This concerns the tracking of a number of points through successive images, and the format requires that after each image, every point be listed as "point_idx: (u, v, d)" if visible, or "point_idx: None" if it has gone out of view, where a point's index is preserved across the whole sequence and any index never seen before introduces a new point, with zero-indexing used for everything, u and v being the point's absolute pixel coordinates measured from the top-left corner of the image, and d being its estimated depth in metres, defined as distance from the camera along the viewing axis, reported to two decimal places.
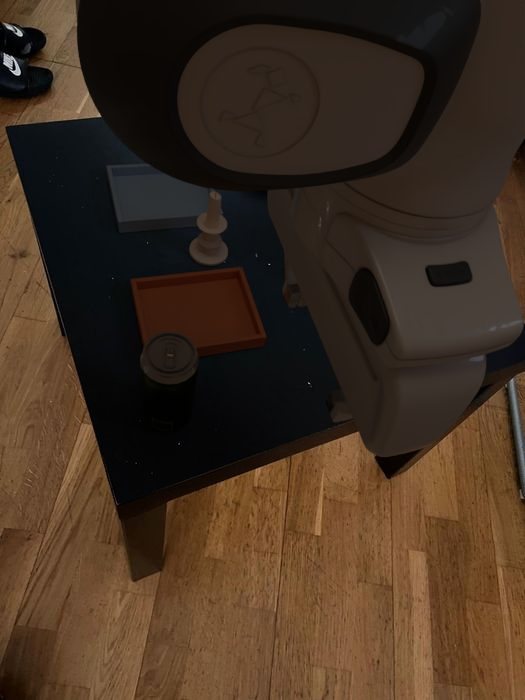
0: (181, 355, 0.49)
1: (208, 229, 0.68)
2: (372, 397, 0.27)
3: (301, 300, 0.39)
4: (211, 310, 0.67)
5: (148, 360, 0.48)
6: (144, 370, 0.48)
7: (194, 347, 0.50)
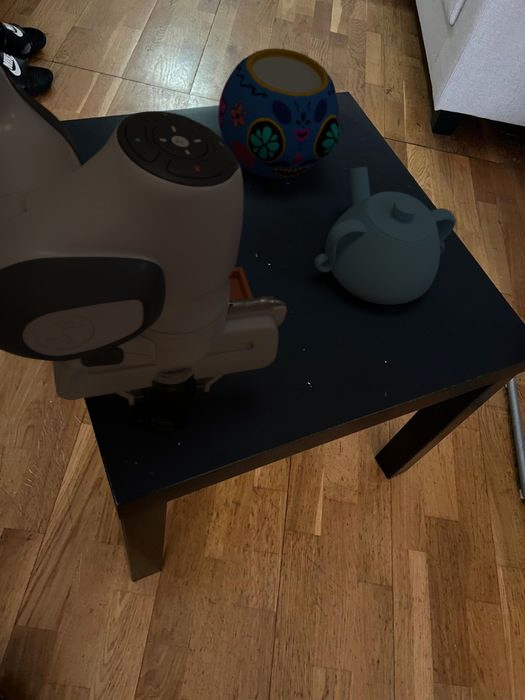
0: None
1: None
2: None
3: None
4: None
5: None
6: None
7: None
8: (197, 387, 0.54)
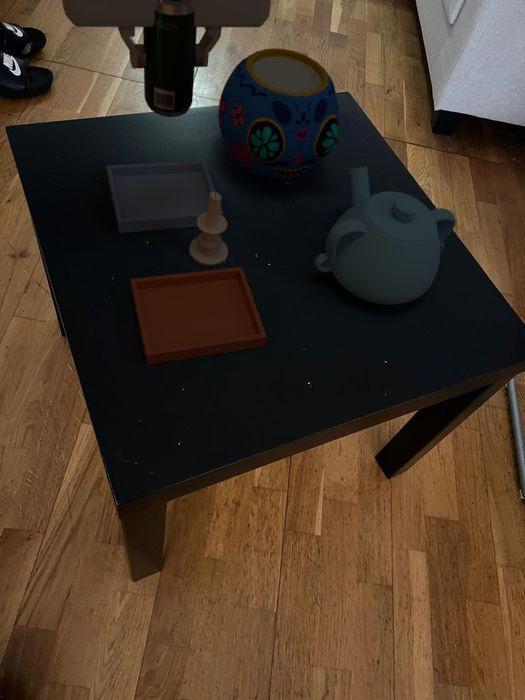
0: None
1: (208, 229, 0.68)
2: None
3: None
4: (211, 310, 0.67)
5: None
6: None
7: None
8: (196, 54, 0.57)
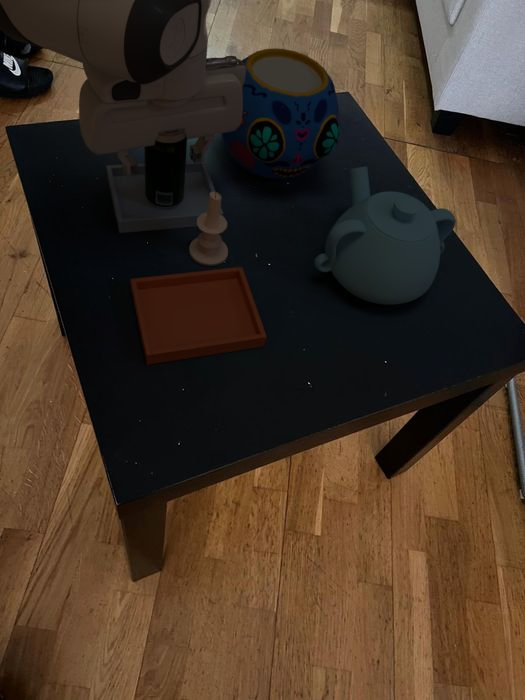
0: None
1: (208, 229, 0.68)
2: None
3: (192, 156, 0.73)
4: (211, 310, 0.67)
5: None
6: None
7: None
8: (196, 154, 0.72)
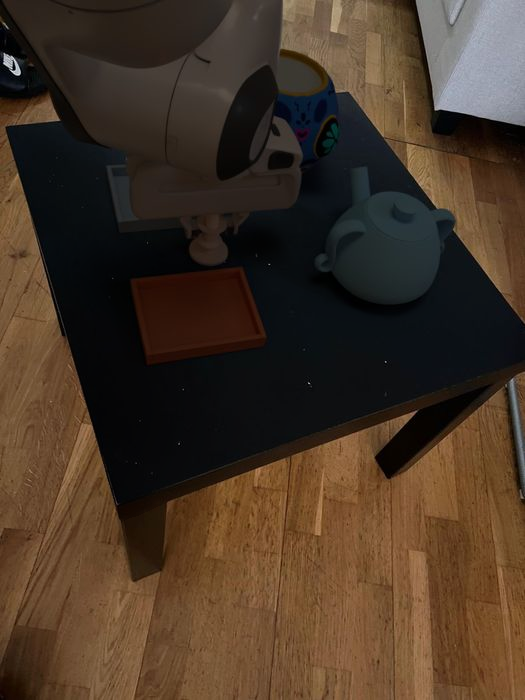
0: None
1: (208, 229, 0.68)
2: (282, 189, 0.64)
3: None
4: (211, 310, 0.67)
5: None
6: None
7: None
8: None
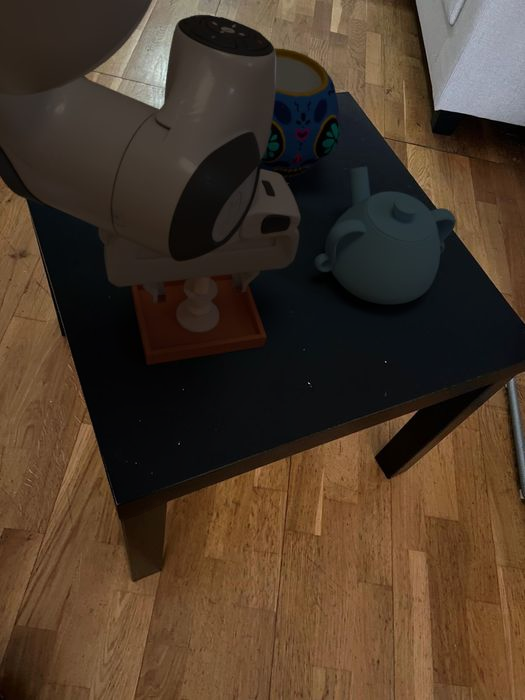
0: None
1: (196, 296, 0.61)
2: (277, 250, 0.57)
3: None
4: None
5: None
6: None
7: None
8: None
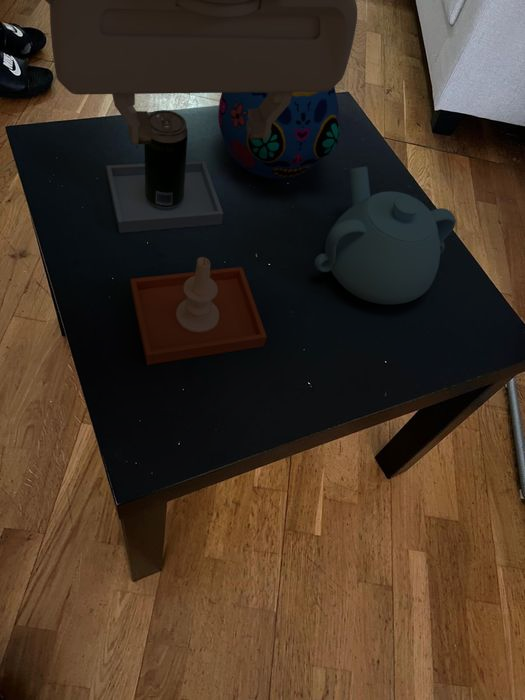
0: (174, 122, 0.66)
1: (196, 296, 0.61)
2: (322, 49, 0.37)
3: None
4: None
5: (151, 128, 0.66)
6: None
7: (182, 118, 0.67)
8: None
